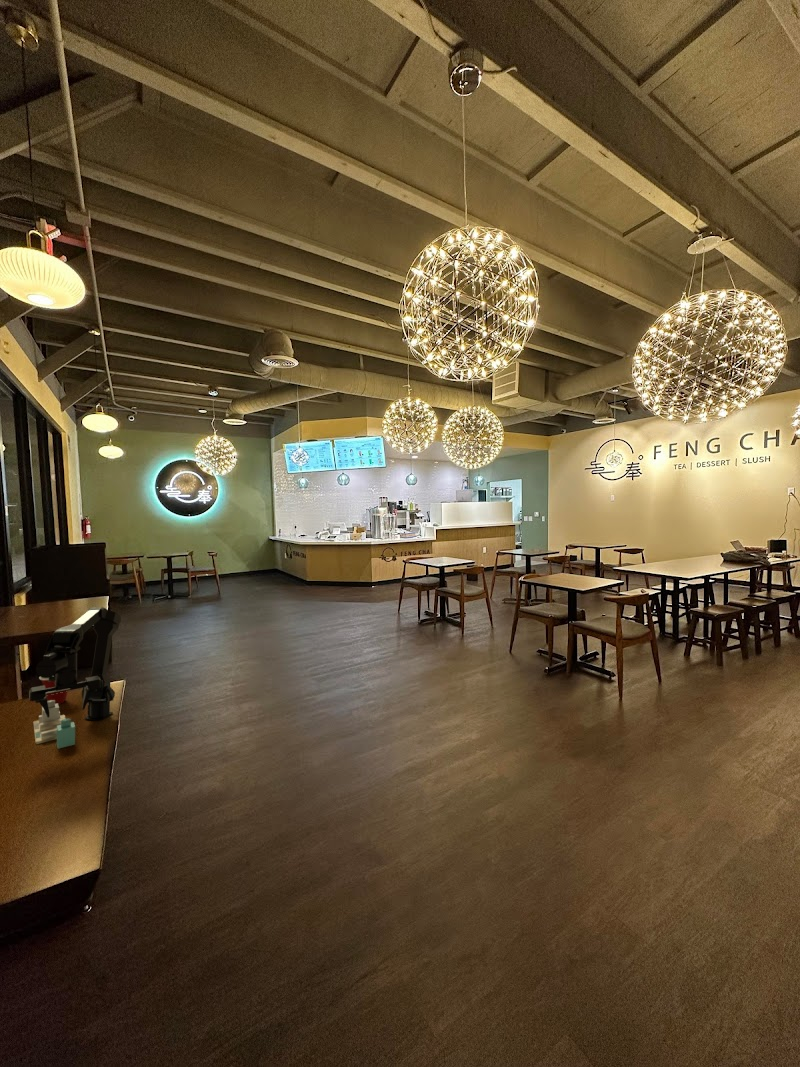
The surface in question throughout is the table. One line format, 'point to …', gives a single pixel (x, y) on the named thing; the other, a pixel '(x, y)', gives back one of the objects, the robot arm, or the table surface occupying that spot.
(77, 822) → the table surface
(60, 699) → the plastic cup
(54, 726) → the backplate with mounted blocks
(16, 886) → the table surface
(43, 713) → the grey plug
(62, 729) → the teal plug
